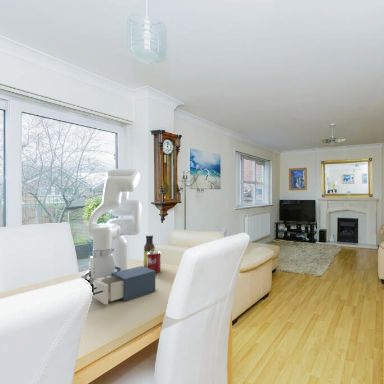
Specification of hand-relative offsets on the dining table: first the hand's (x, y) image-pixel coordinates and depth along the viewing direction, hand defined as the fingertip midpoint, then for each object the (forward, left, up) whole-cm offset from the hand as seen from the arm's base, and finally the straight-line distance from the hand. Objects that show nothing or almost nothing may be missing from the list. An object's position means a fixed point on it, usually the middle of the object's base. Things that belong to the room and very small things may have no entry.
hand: (101, 289), depth 122 cm
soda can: (-6, +30, -1) cm, 31 cm away
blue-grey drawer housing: (+12, +9, -1) cm, 15 cm away
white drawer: (+12, -2, 0) cm, 12 cm away
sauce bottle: (-18, +34, -1) cm, 39 cm away
